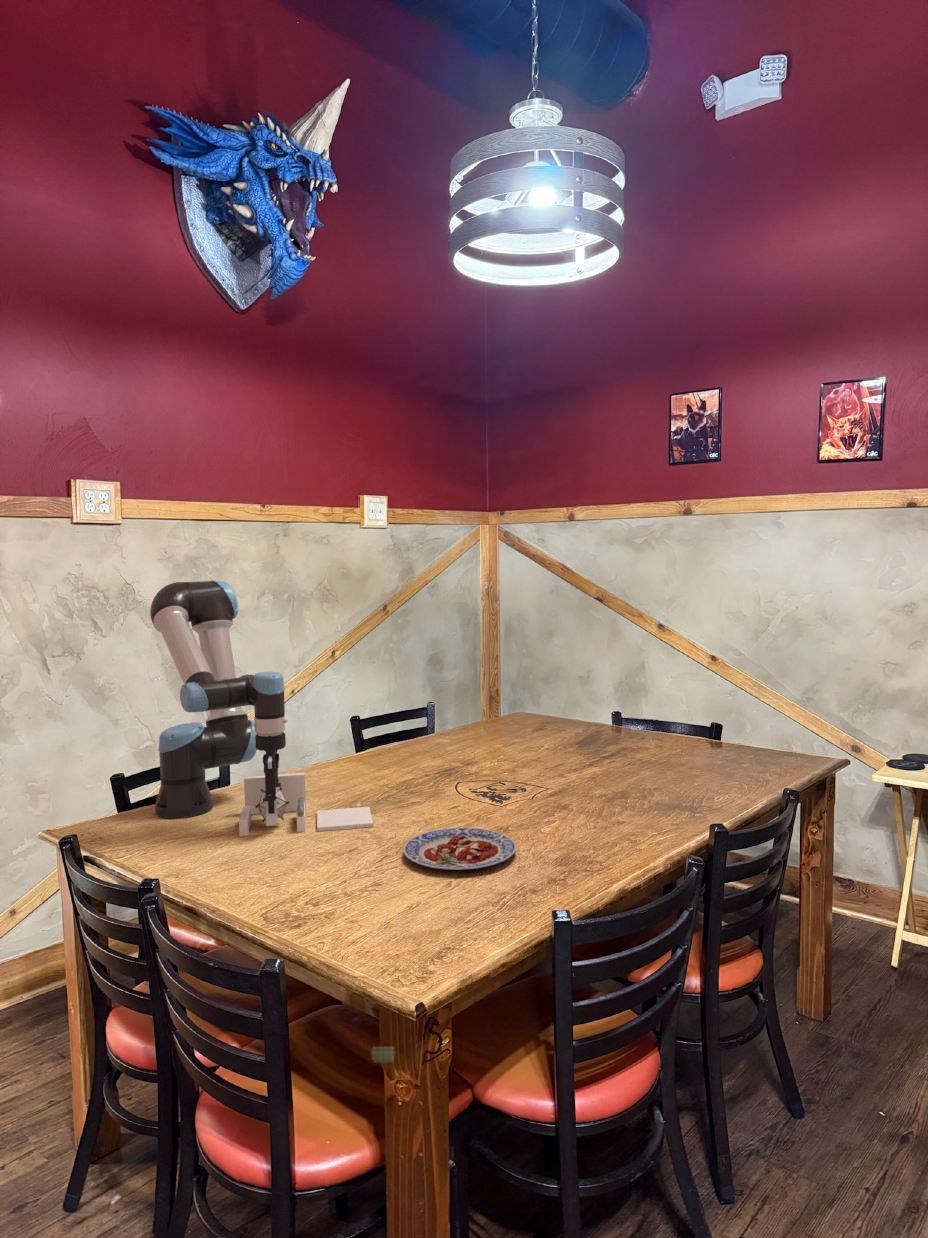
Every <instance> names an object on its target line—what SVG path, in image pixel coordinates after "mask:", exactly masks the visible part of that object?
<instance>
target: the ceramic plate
mask: <svg viewBox="0 0 928 1238" xmlns="http://www.w3.org/2000/svg"><path fill="white" fill-rule="evenodd" d="M516 848H517V845H516V843H515V841H514V840H513V839H512V838H510V836H507V835H506V834H503V833H501V832H498V831H494V830H490V829H486V828H485V829H484V828H477V827H449V828H440V829H435V830H429V831H426V832H423V833H421V834H418V835H415V836H413V837H412V838H410V839H409V840H408V841H406V843H405V844H404V845H403V848H402V849H403V853H404V855H405V857H406V858H407V859H409V861H411V862H414V863H416V864H418V865H421V866H423V867H427V868H432V869H440V870H455V871H456V870H457V871H460V870H474V869H481V868H487V867H490V866H494V865H497V864H500V863H502V862H504V861H506V860H508V859H510V858H511V857H512V856H513V855H514V854H515V853H516V850H517V849H516Z"/></svg>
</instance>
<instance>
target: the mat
mask: <svg viewBox="0 0 928 1238" xmlns="http://www.w3.org/2000/svg"><path fill="white" fill-rule="evenodd" d="M371 812H372V811H371V808H370V806H362V807H361V806H360V807H359V806H358V807H348V808H334V809H322V810H321V809H319V810H317V811H316V823H317V825H316V827H317V828H316V830H317V832H330V831H340V830H352V829H364V828H363V827H367V828H373V827H374V821H373V817H372V813H371ZM329 830H330V831H329Z"/></svg>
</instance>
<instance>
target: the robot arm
mask: <svg viewBox="0 0 928 1238" xmlns="http://www.w3.org/2000/svg"><path fill="white" fill-rule="evenodd" d="M238 603H239V602H238V598H237V595H236V592H235V590H234V588H233V587H232V586H231V585H230V583H228V582H226V581H224V580H223V581H222V580H221V581H220V580H219V581H218V580H204V581H175V582H172V583H171V582H170V583H169V584H167V585H165V586H163V587H162V588H161V589H160V590H158V592H157V593H156V595H155V596H154V597H153V600H152V602H151V604H150V610H149V614H150V615H149V617H150V619H151V623H152V625H153V627H154V629H155V630H156V631H157V632H159V633H160V634H161V636H162V637H163V640H164V642H165V644H166V647H167V648H168V649H167V650H168V651H169V653H170V656H171V658H172V660H173V663H174V665H175V666H176V668H177V672H178V674H179V676H180V678H181V680H182V683H183V684H182V685H181V687H180V691H179V699H180V704H181V707H182V709H183V710H184V711H185V712H186V713H203V712H207V711H209V715H208V717H207V718H206V720H205V724H206V726H204V724H203V723H202V722H190V723H188V722H187V723H182V724H177V725H174V726H171V727H168V728H166V729H165V730H163V731H162V732H161V733H160V734H159V737H158V752H159V753H158V754H159V755H158V756H159V769H160V770H159V772H160V787H159V790H158V794H157V798H156V800H155V804H154V811H155V815H156V816H157V817H160V818H163V819H183V818H190V817H195V816H200V815H203V814H206V813H208V812H210V811H211V810H213V808H214V798H213V796H212V793H211V791H210V788H209V786H208V782H207V781H206V770H208V769H214V768H220V767H226V766H231V765H239V764H242V763H246V762H249V761H252V759H253V758H254V757H255V755H256V754H257V750H258V751H260V752H261V751H264V752H265V753H263V756H262V764H263V773H264V776H265V798H263V801H266V820H265V823H266V824H265V825H266V827H269V826H278V820H279V819H278V818H277V797H276V790H279V788H276V787H281V783H278V781H279V779H278V775H279V767H280V766H279V764H280V753H278V751H279V750H280V751H281V750H282V749H284V748H285V747H286V744H287V743H286V742H287V741H286V733H285V731H286V724H287V723H288V719H287V718H285V717H286V716H285V711H286V710H285V706H286V705H285V689H286V687H285V682H284V675H283V674H282V673H281V672H278V671H263V672H257V673H255V674H242V675H240V676H238V677H237V675H236V667H235V661H234V655H233V650H232V649H233V647H232V643H231V636H230V629H231V627H232V625H234V619H236V618H237V615H238V611H239V609H238V608H239V604H238ZM190 625H191V626H190ZM193 631H194V632H195V633H197V634H198V640H199V642H198V640H197V639H196V636H195V635H194V633H193ZM244 706H245V707H246V706H253V709H254V716H253V717H254V718H253V719H254V720H251V719H249V717H248V713H247V712H245V711H244V710H243V709H242V707H244ZM268 795H271V796H268Z"/></svg>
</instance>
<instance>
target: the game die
mask: <svg viewBox="0 0 928 1238" xmlns="http://www.w3.org/2000/svg"><path fill="white" fill-rule="evenodd" d="M281 790H282V787H281V788H280V790H276V797H277V819H279V818H280V819H281V820H282V821H284V819H285V818H284V817H283V815H284V813H285V812H284V810H285V807H286V805H287V804H288V803H290V802H289V801H286V799H285V797H284V796H283V794H282V792H281ZM261 792H262V795H261V798H260V801H259V804H258V805H256V806H255V807H256V808H257V807H258V808H259V810H260V812H261V814H260V815H261V816H262V818H263V819H262V823H264V822H266V801H263V798H265V791H263V789H261ZM268 796H271V795H268Z"/></svg>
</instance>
